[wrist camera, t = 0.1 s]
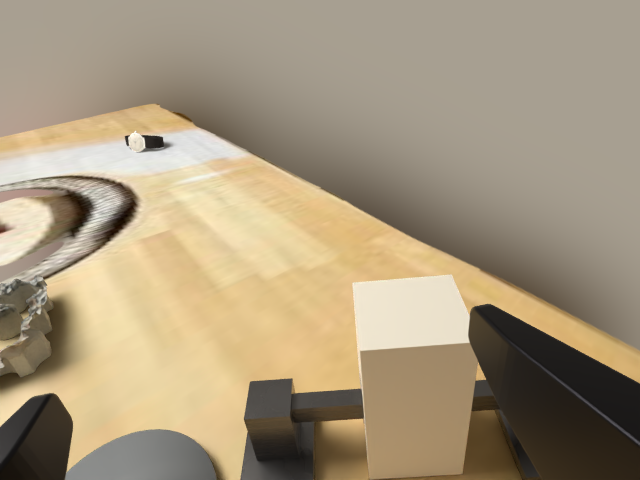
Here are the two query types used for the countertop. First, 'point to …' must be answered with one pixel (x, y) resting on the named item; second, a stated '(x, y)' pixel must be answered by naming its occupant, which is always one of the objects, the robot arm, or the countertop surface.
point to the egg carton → (24, 325)
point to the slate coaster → (146, 459)
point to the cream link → (414, 375)
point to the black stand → (307, 408)
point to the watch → (143, 141)
